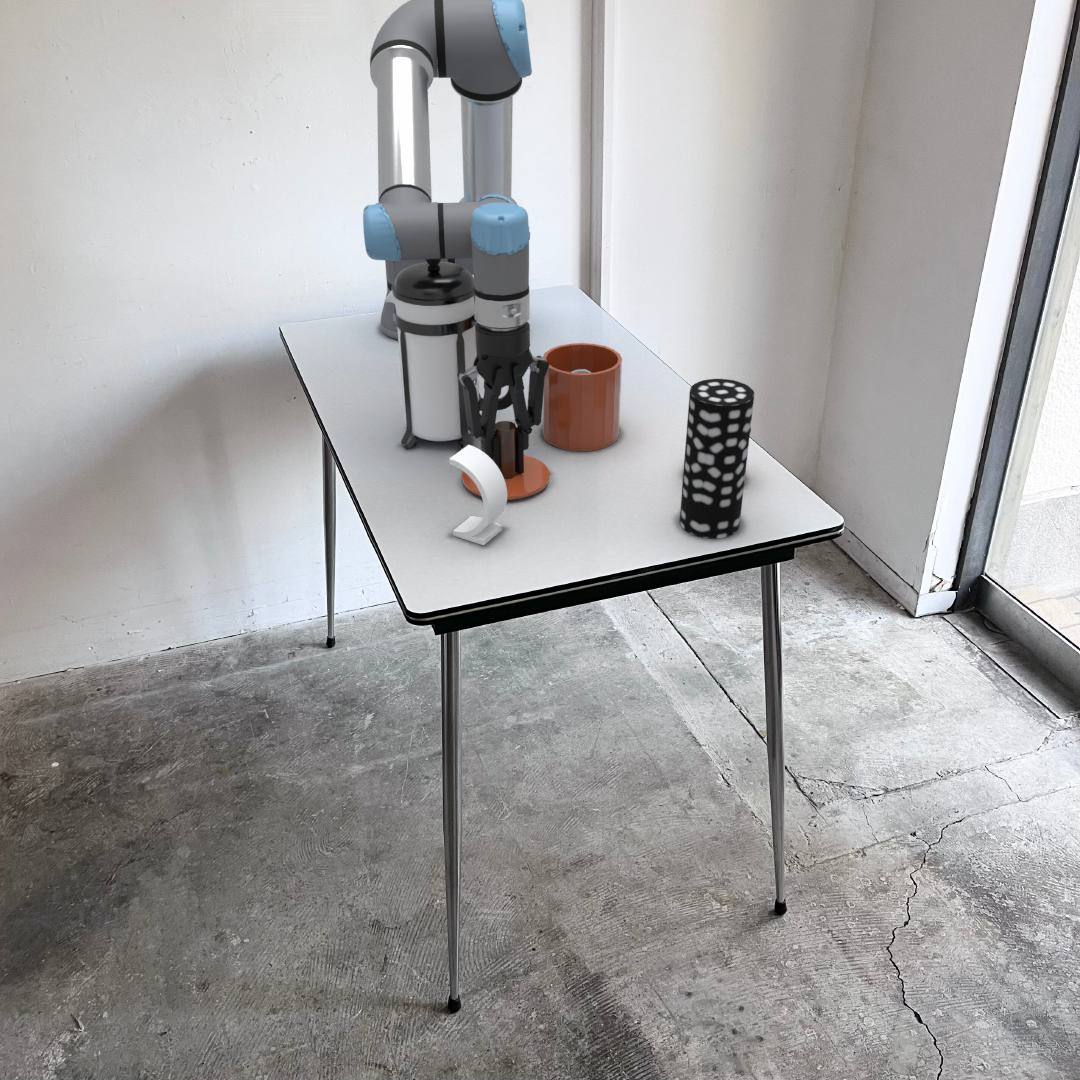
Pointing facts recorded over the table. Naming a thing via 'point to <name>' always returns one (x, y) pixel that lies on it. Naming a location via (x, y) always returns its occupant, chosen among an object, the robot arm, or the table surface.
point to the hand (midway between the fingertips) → (505, 471)
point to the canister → (582, 397)
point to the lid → (514, 466)
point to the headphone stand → (482, 494)
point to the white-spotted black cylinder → (715, 457)
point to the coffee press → (436, 349)
